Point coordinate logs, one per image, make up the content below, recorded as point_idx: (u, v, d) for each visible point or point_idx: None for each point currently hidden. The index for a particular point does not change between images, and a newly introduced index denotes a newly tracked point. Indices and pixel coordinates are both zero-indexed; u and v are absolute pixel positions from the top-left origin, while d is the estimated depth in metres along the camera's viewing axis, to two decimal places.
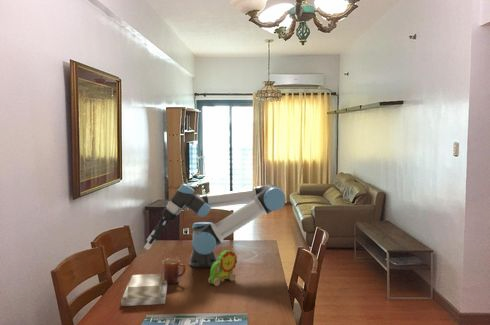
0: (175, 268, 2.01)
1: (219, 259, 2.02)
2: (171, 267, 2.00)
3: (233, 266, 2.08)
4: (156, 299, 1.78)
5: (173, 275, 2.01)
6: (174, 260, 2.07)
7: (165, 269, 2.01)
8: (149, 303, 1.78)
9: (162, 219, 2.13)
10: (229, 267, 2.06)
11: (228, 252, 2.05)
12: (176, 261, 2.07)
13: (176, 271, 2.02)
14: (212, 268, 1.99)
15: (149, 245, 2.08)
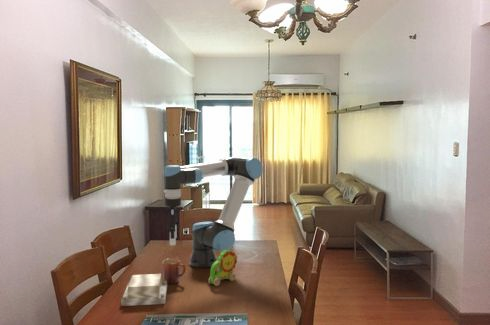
0: (175, 268, 2.01)
1: (219, 259, 2.02)
2: (171, 267, 2.00)
3: (233, 266, 2.08)
4: (156, 299, 1.78)
5: (173, 275, 2.01)
6: (174, 260, 2.07)
7: (165, 269, 2.01)
8: (149, 303, 1.78)
9: (169, 210, 2.00)
10: (229, 267, 2.06)
11: (228, 252, 2.05)
12: (176, 261, 2.07)
13: (176, 271, 2.02)
14: (212, 268, 1.99)
15: (173, 240, 1.95)
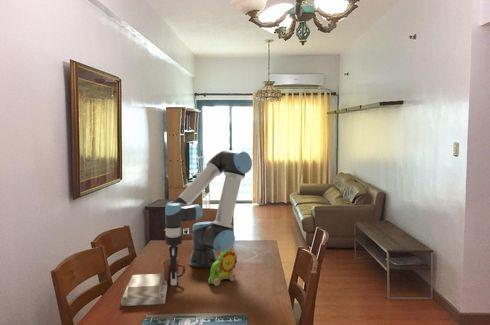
0: None
1: (219, 259, 2.02)
2: None
3: (233, 266, 2.08)
4: (156, 299, 1.78)
5: None
6: None
7: (165, 269, 2.00)
8: (149, 303, 1.78)
9: (170, 248, 2.01)
10: (229, 267, 2.06)
11: (228, 252, 2.05)
12: (176, 261, 2.06)
13: (176, 271, 2.01)
14: (212, 268, 1.99)
15: (174, 280, 1.99)
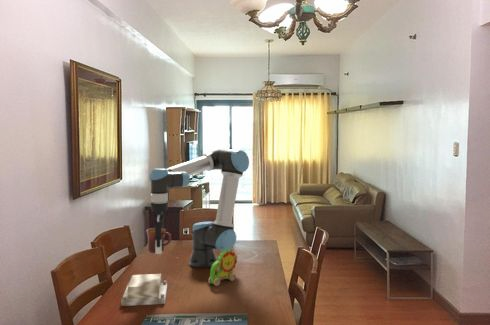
0: None
1: (219, 259, 2.02)
2: None
3: (233, 266, 2.08)
4: (156, 299, 1.78)
5: None
6: None
7: (149, 237, 1.90)
8: (149, 303, 1.78)
9: (155, 215, 1.91)
10: (229, 267, 2.06)
11: (228, 252, 2.05)
12: (162, 230, 1.96)
13: None
14: (212, 268, 1.99)
15: (159, 248, 1.89)
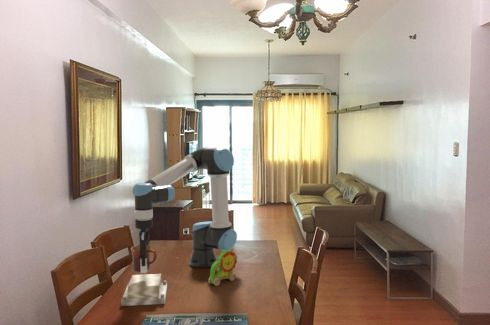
0: None
1: (219, 259, 2.02)
2: None
3: (233, 266, 2.08)
4: (156, 299, 1.78)
5: None
6: None
7: (134, 256, 1.82)
8: (149, 303, 1.78)
9: (140, 233, 1.83)
10: (229, 267, 2.06)
11: (228, 252, 2.05)
12: (147, 247, 1.88)
13: None
14: (212, 268, 1.99)
15: (144, 267, 1.81)
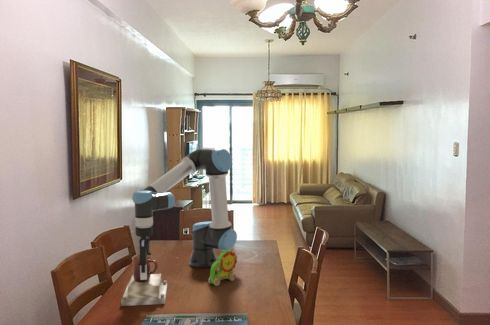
0: None
1: (219, 259, 2.02)
2: None
3: (233, 266, 2.08)
4: (156, 299, 1.78)
5: None
6: (146, 256, 1.89)
7: (135, 266, 1.83)
8: (149, 303, 1.78)
9: (140, 240, 1.83)
10: (229, 267, 2.06)
11: (228, 252, 2.05)
12: (148, 257, 1.88)
13: (147, 268, 1.84)
14: (212, 268, 1.99)
15: (144, 274, 1.79)
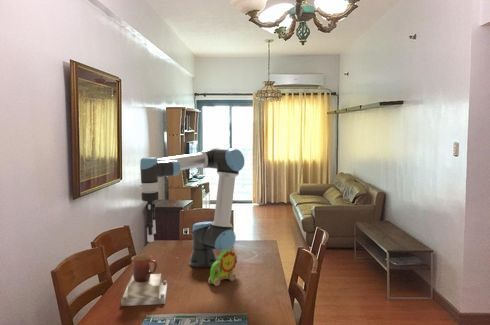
0: (146, 265, 1.83)
1: (219, 259, 2.02)
2: (141, 263, 1.82)
3: (233, 266, 2.08)
4: (156, 299, 1.78)
5: (143, 272, 1.83)
6: (145, 256, 1.89)
7: (135, 266, 1.83)
8: (149, 303, 1.78)
9: (147, 205, 1.89)
10: (229, 267, 2.06)
11: (228, 252, 2.05)
12: (148, 257, 1.88)
13: (147, 268, 1.84)
14: (212, 268, 1.99)
15: (151, 236, 1.85)
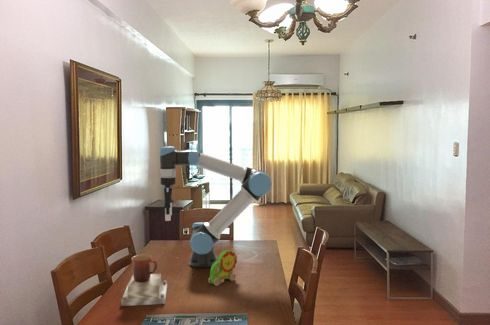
0: (146, 265, 1.83)
1: (219, 259, 2.02)
2: (141, 263, 1.82)
3: (233, 266, 2.08)
4: (156, 299, 1.78)
5: (143, 272, 1.83)
6: (146, 256, 1.89)
7: (135, 266, 1.83)
8: (149, 303, 1.78)
9: (165, 188, 2.13)
10: (229, 267, 2.06)
11: (228, 252, 2.05)
12: (148, 257, 1.88)
13: (147, 268, 1.84)
14: (212, 268, 1.99)
15: (168, 216, 2.09)
